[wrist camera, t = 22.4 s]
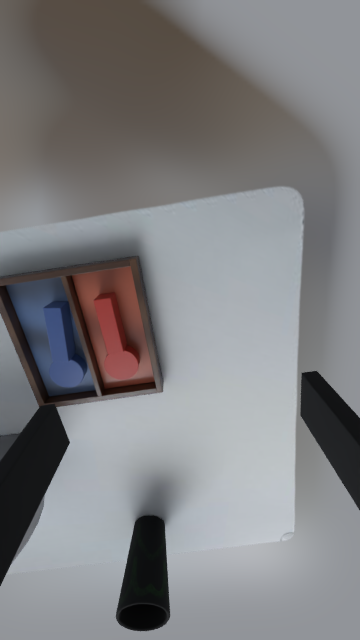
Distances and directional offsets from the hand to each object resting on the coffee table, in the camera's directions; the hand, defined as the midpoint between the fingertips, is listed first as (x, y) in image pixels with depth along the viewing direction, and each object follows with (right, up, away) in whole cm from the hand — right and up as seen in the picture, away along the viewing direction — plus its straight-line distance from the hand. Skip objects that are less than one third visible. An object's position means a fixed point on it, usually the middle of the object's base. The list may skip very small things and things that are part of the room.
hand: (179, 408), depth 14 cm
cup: (-6, -33, +35) cm, 48 cm away
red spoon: (-8, +3, +20) cm, 21 cm away
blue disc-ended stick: (-15, +1, +20) cm, 25 cm away
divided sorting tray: (-12, +3, +20) cm, 24 cm away
